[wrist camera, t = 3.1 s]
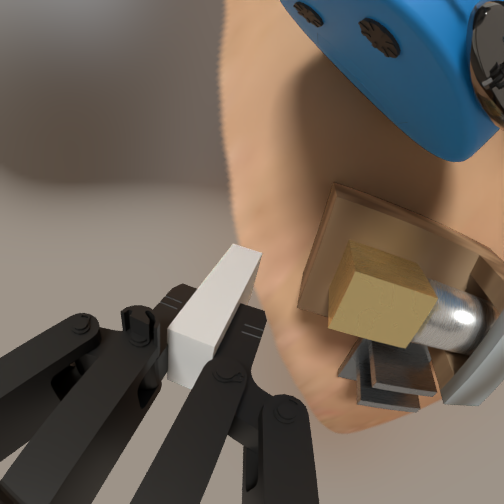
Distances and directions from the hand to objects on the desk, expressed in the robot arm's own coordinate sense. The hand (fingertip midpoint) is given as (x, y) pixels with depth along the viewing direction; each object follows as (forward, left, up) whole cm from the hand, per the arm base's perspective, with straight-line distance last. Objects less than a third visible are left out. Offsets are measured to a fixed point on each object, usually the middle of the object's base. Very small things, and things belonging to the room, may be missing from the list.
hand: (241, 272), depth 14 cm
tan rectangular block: (0, +8, -4) cm, 9 cm away
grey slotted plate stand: (+10, +16, -9) cm, 20 cm away
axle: (0, +16, -4) cm, 16 cm away
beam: (0, +16, -9) cm, 18 cm away
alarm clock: (-14, +5, -9) cm, 17 cm away
